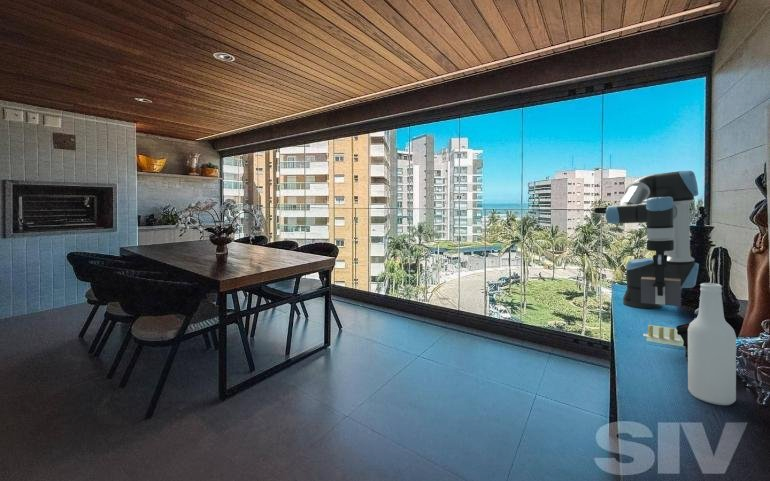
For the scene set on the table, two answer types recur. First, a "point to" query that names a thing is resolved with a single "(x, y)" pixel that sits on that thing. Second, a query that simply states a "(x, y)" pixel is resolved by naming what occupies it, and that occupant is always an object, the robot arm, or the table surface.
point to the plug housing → (671, 291)
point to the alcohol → (712, 350)
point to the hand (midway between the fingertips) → (660, 302)
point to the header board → (664, 335)
